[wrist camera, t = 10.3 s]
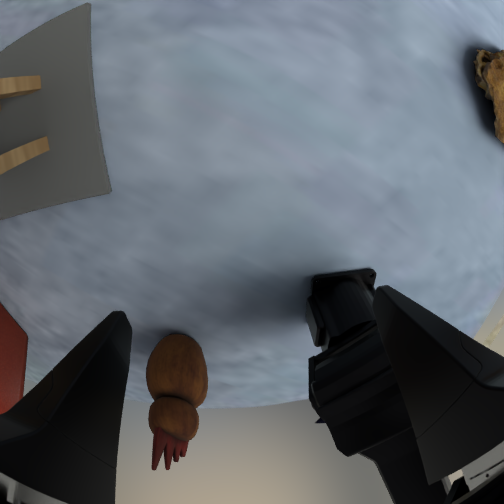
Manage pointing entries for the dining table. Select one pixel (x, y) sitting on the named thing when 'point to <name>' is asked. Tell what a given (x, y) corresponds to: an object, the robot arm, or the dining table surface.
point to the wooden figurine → (175, 395)
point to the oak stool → (12, 158)
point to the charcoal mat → (52, 117)
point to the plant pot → (11, 361)
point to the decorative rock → (492, 84)
